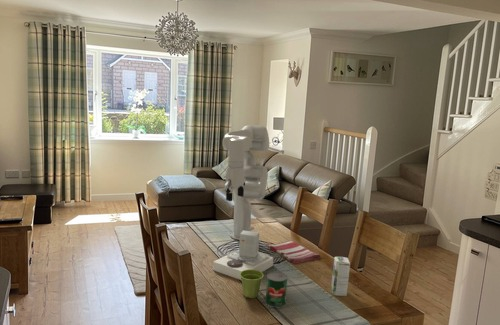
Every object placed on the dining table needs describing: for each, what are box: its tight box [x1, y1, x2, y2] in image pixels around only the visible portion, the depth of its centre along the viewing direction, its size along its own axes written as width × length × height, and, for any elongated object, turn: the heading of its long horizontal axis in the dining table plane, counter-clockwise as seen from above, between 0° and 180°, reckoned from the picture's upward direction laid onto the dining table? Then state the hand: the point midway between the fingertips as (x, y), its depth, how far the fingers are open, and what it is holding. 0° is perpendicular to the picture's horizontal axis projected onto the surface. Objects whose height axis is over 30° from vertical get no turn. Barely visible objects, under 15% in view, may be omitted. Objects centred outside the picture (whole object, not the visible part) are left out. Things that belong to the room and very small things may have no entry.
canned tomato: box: [264, 271, 288, 308], centre depth 159 cm, size 8×8×11 cm
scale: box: [212, 254, 274, 281], centre depth 190 cm, size 22×18×5 cm
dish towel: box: [266, 240, 321, 265], centre depth 211 cm, size 17×23×3 cm
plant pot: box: [240, 270, 264, 299], centre depth 165 cm, size 9×9×9 cm
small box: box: [238, 230, 260, 258], centre depth 192 cm, size 8×6×10 cm
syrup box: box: [330, 256, 351, 297], centre depth 170 cm, size 6×6×14 cm
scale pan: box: [226, 248, 271, 266], centre depth 193 cm, size 13×15×1 cm
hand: (234, 198), depth 203 cm, fingers open, 9 cm apart
